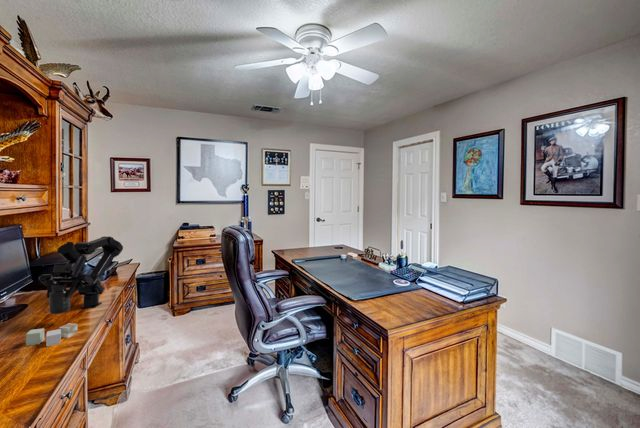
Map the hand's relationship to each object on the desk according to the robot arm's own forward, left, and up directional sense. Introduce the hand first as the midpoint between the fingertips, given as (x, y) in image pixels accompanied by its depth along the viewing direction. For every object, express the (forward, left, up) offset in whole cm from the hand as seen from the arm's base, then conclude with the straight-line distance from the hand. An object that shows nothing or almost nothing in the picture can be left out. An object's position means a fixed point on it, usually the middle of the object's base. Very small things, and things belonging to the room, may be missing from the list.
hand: (57, 297), depth 126 cm
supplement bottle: (-1, 0, -7) cm, 7 cm away
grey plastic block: (+15, +9, -12) cm, 21 cm away
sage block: (+15, +3, -12) cm, 19 cm away
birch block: (+9, +10, -12) cm, 18 cm away
